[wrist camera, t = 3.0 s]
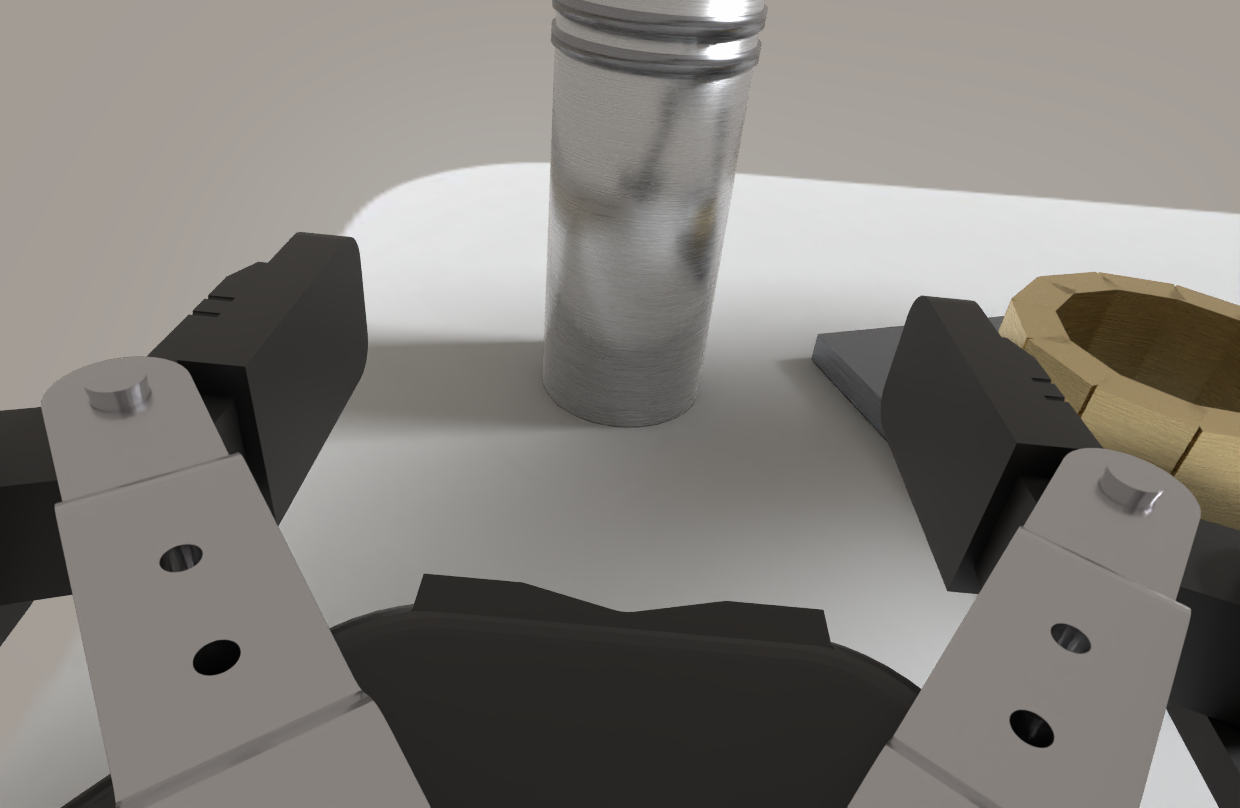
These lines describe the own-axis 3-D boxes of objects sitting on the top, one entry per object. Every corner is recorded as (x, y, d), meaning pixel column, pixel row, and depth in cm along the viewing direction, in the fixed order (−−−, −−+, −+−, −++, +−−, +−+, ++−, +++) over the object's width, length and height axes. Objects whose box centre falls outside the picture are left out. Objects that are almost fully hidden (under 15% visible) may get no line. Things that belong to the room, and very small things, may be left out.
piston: (667, 332, 29) (720, -51, 22) (726, 417, 25) (814, -18, 18) (523, 345, 27) (532, -63, 20) (563, 438, 23) (589, -31, 16)
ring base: (1118, 325, 32) (1165, 232, 30) (1526, 585, 22) (1649, 470, 19) (811, 359, 28) (839, 253, 26) (1129, 701, 17) (1224, 571, 15)
